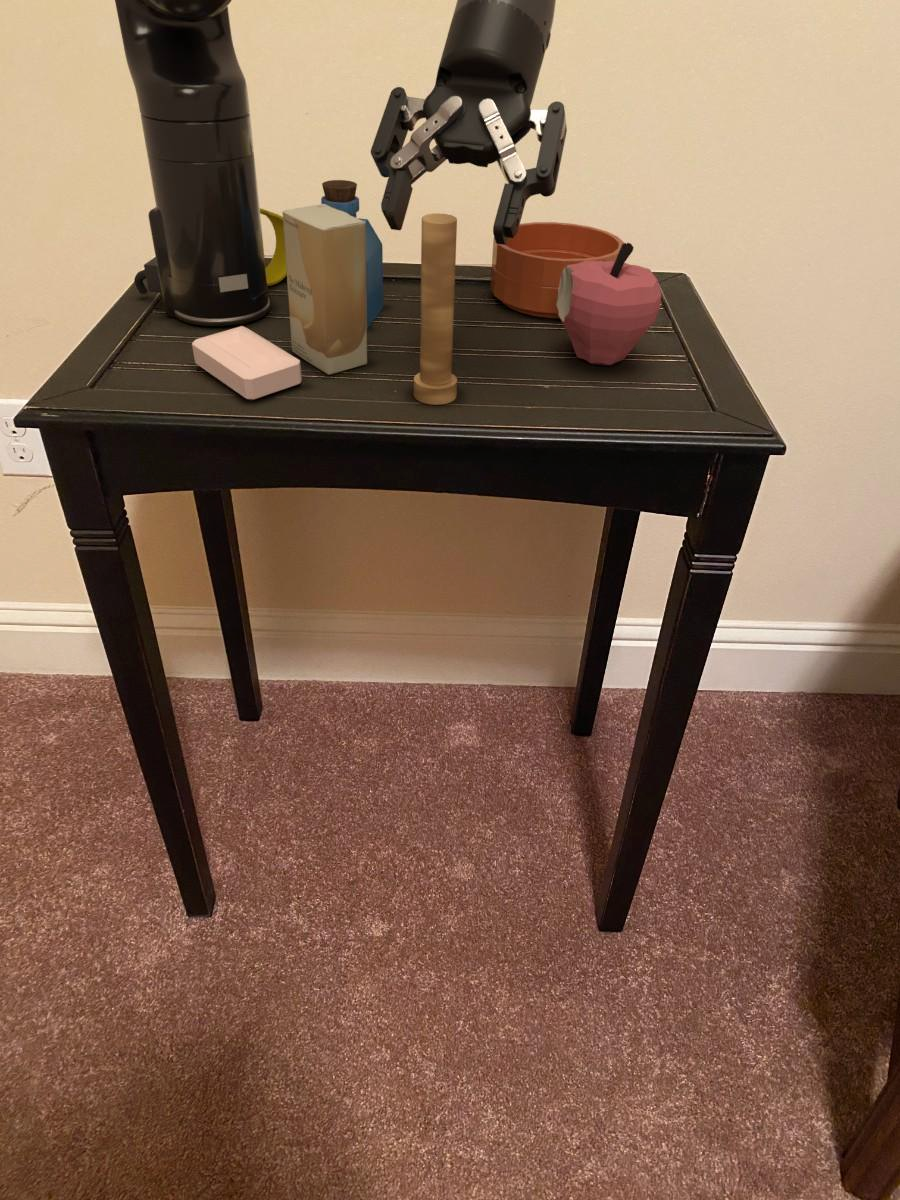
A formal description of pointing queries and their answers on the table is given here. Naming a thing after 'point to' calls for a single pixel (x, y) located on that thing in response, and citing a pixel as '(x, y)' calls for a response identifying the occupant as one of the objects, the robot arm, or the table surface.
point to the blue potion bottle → (344, 199)
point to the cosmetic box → (326, 286)
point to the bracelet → (276, 250)
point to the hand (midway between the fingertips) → (445, 231)
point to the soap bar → (247, 362)
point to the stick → (437, 310)
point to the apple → (607, 306)
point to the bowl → (544, 263)
